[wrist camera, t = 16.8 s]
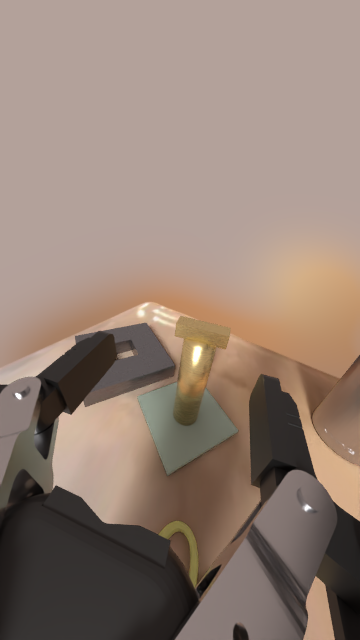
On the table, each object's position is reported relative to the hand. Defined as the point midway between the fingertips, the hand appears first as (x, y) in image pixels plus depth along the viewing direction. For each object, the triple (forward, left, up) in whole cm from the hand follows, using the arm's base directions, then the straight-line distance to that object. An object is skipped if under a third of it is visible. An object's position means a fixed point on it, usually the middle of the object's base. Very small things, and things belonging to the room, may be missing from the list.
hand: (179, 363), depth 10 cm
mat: (-8, -8, -22) cm, 24 cm away
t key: (-8, -8, -21) cm, 24 cm away
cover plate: (-2, -24, -22) cm, 32 cm away
